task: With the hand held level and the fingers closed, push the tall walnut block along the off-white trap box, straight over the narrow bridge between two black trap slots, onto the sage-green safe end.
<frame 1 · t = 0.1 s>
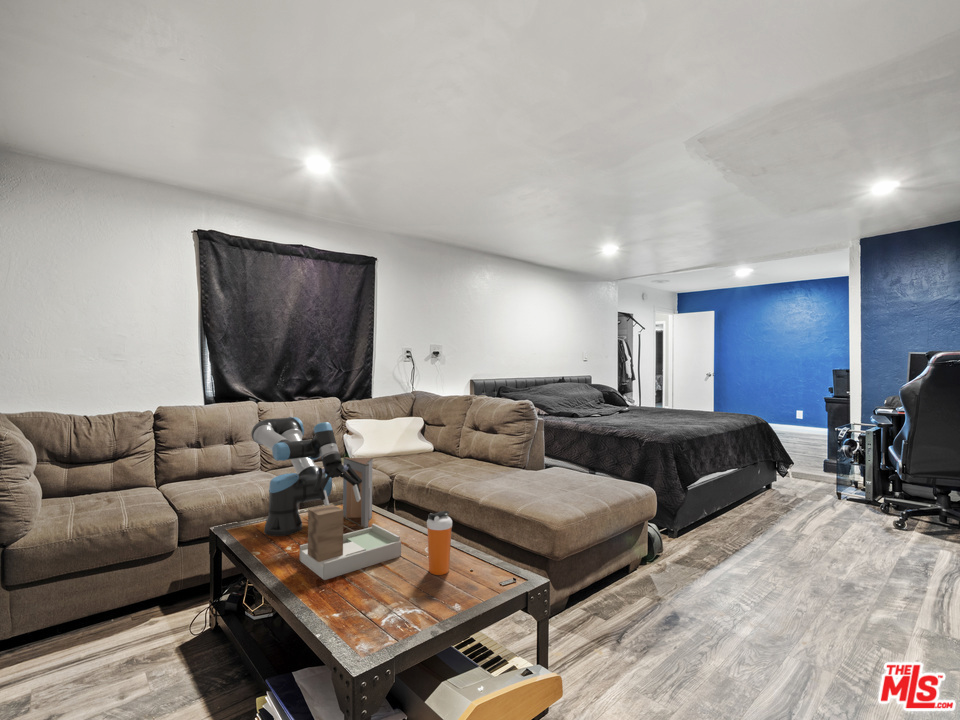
hand: (343, 503, 190), 15 cm above the table, tool tilted 35°, fingers open, 13 cm apart
shaker bottle: (439, 571, 163), on the table
cabinet: (363, 520, 215), on the table
walnut block: (325, 554, 167), point 4 cm above the table, touching trap box
trap box: (351, 558, 173), on the table
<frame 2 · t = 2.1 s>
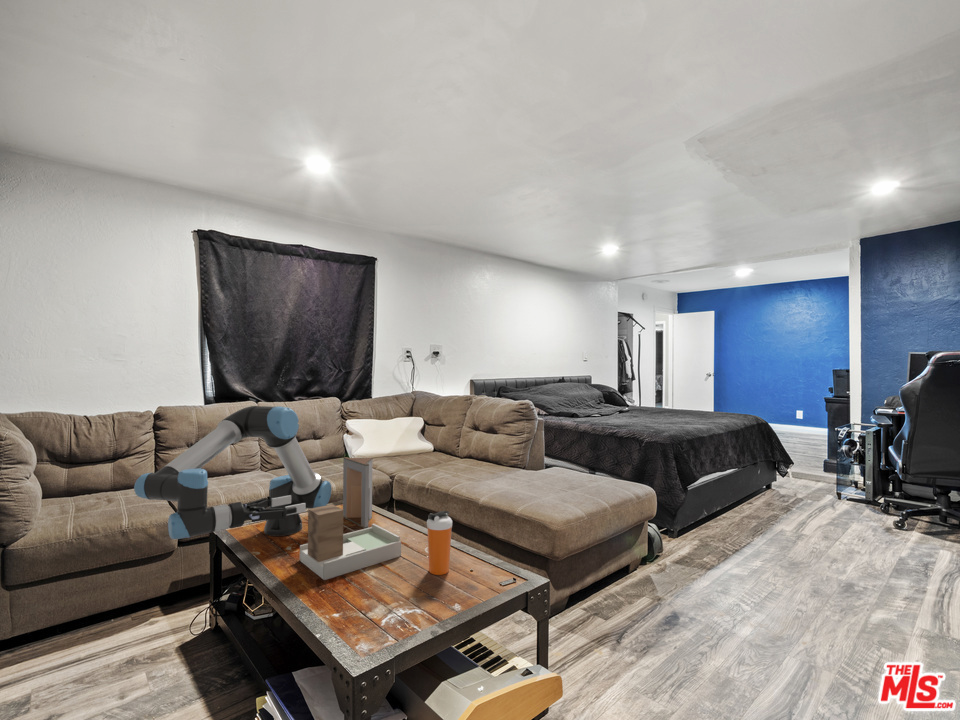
hand: (297, 503, 160), 24 cm above the table, tool horizontal, fingers open, 12 cm apart
nothing on the table moved.
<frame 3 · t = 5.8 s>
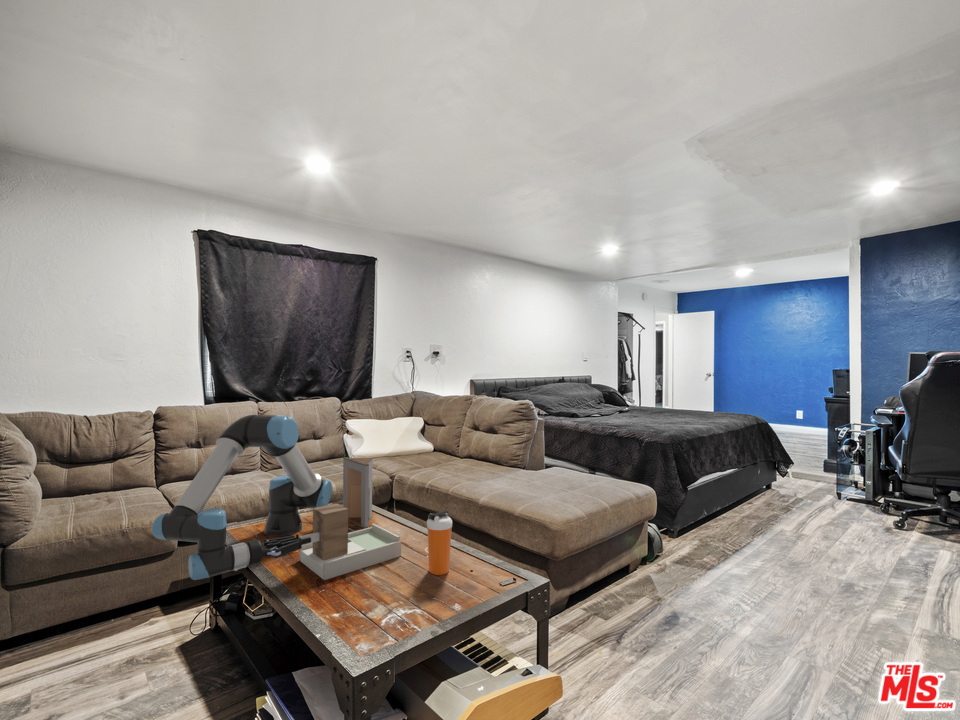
hand: (318, 536, 164), 11 cm above the table, tool horizontal, fingers closed
walnut block: (330, 553, 168), point 4 cm above the table, touching trap box
everything else where it was.
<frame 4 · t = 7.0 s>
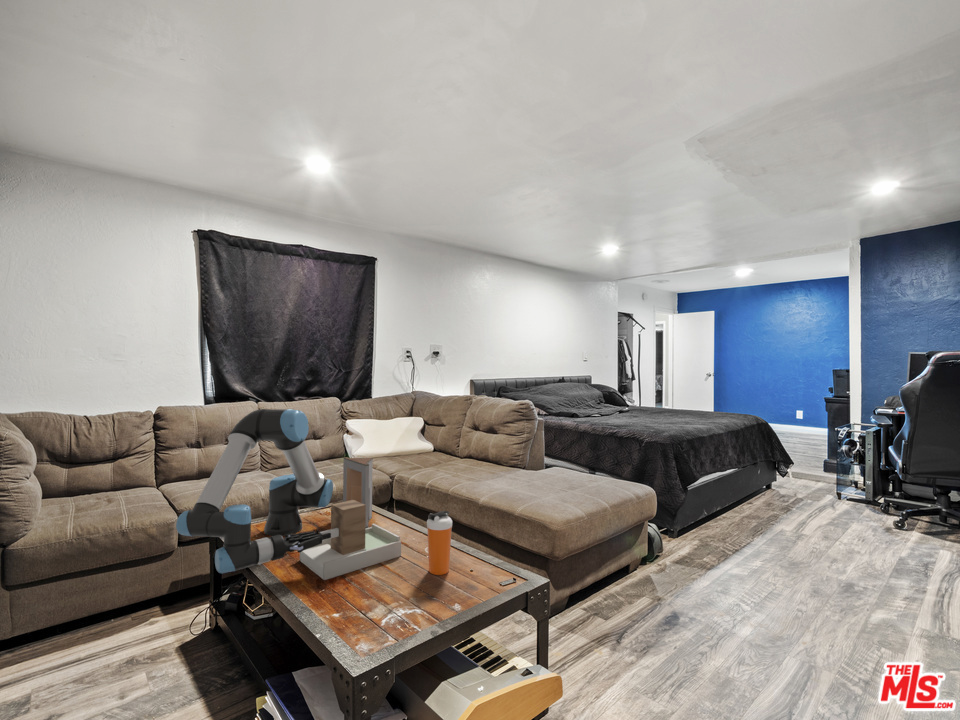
hand: (337, 532, 168), 11 cm above the table, tool horizontal, fingers closed
walnut block: (347, 548, 173), point 4 cm above the table, touching trap box
everything else where it was.
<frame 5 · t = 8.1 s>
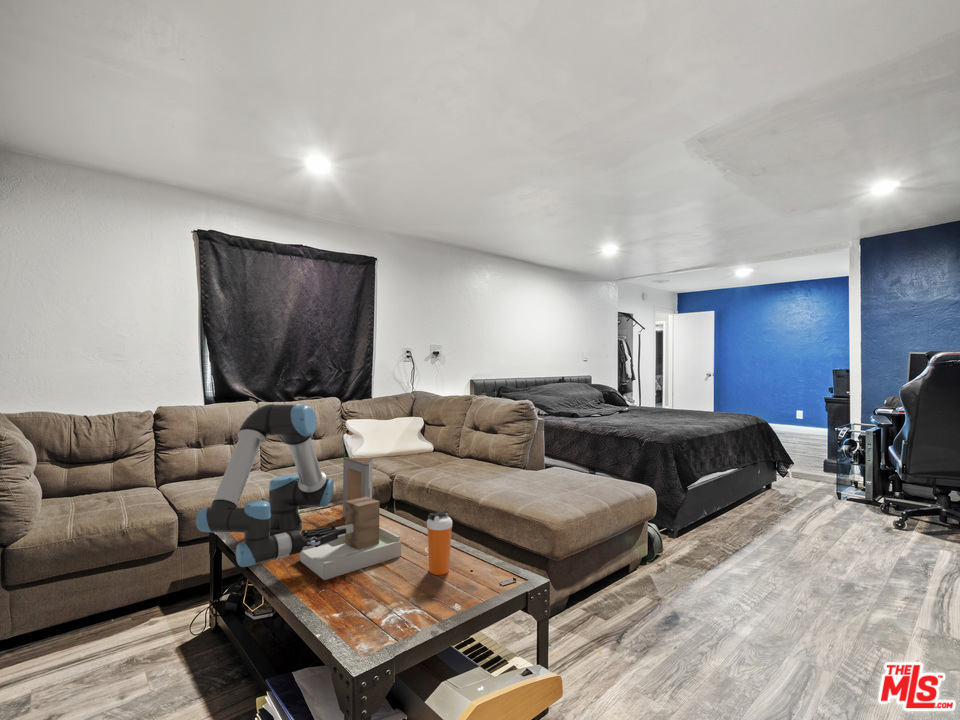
hand: (352, 527, 173), 11 cm above the table, tool horizontal, fingers closed
walnut block: (362, 543, 177), point 4 cm above the table, touching gripper, trap box
everything else where it was.
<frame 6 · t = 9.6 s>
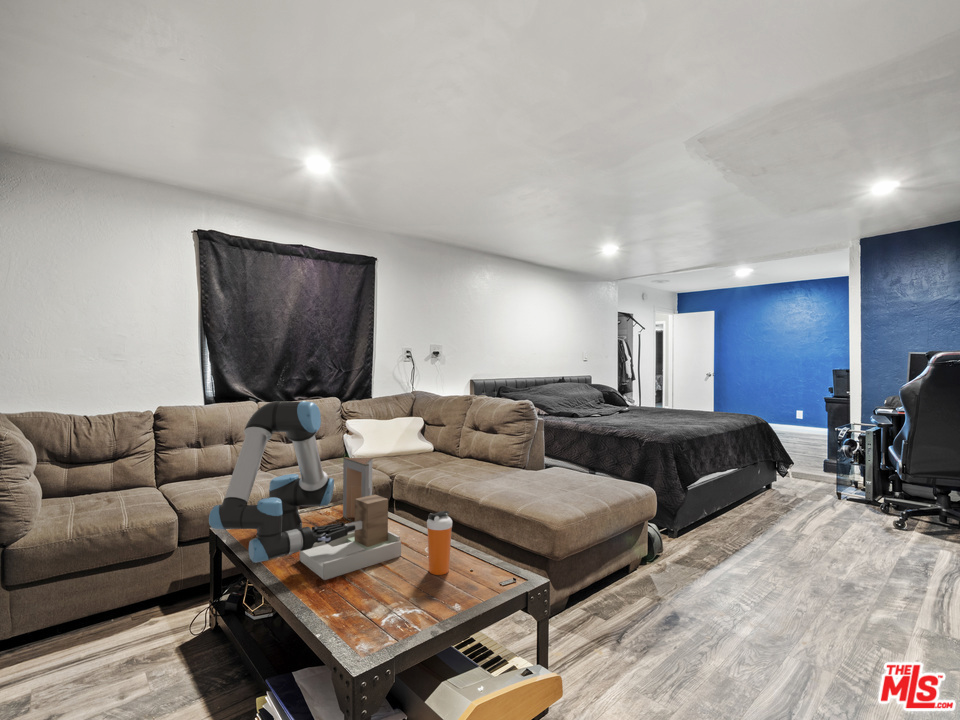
hand: (361, 524, 176), 11 cm above the table, tool horizontal, fingers closed
walnut block: (371, 540, 180), point 4 cm above the table, touching trap box
everything else where it was.
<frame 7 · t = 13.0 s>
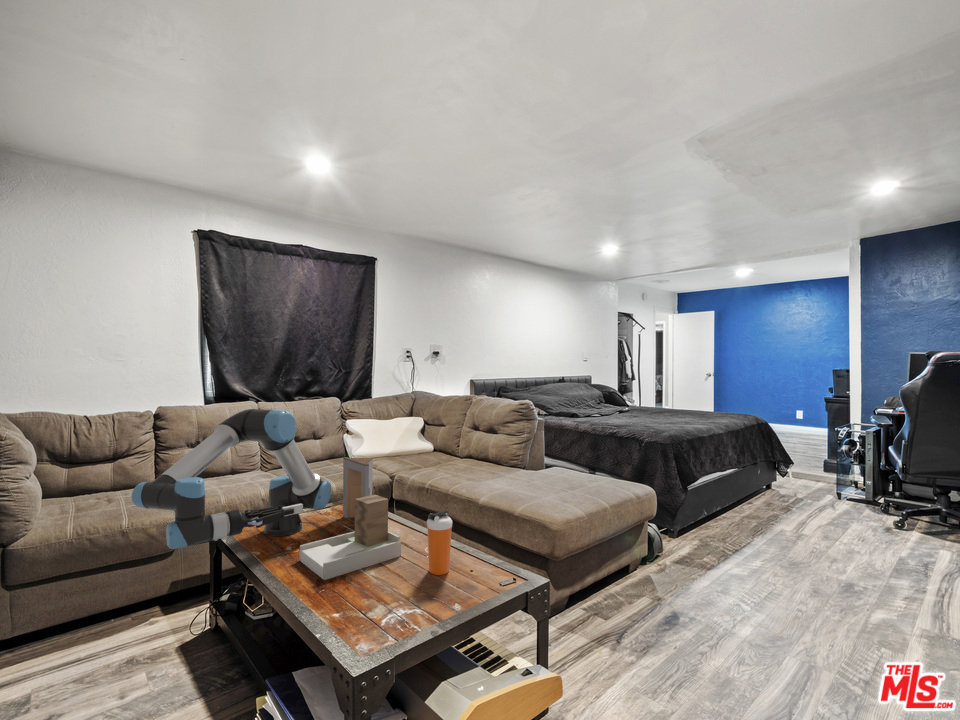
hand: (302, 507, 161), 22 cm above the table, tool horizontal, fingers closed
nothing on the table moved.
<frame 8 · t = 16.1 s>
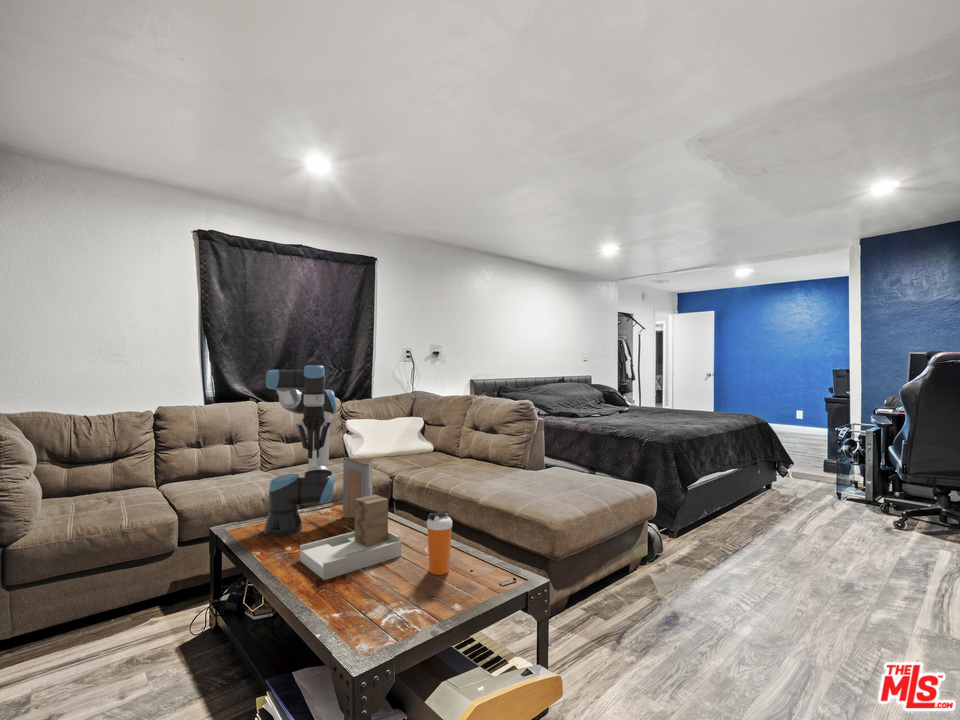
hand: (313, 466, 180), 32 cm above the table, tool pointing down, fingers closed
nothing on the table moved.
at the end: walnut block inside the target area (1.2 cm from its centre), point 4.0 cm above the table; walnut block tilted 0° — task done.
